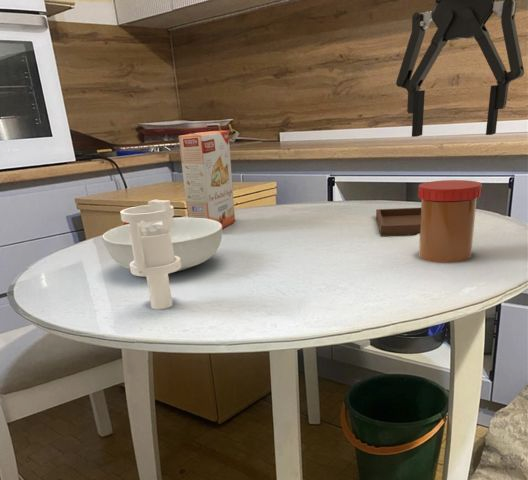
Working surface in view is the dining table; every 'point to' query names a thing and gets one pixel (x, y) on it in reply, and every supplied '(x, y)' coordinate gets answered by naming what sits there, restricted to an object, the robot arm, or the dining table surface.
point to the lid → (450, 190)
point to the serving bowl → (182, 237)
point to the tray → (398, 221)
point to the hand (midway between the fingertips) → (452, 135)
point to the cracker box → (208, 176)
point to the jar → (446, 230)
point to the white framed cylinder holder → (153, 248)
